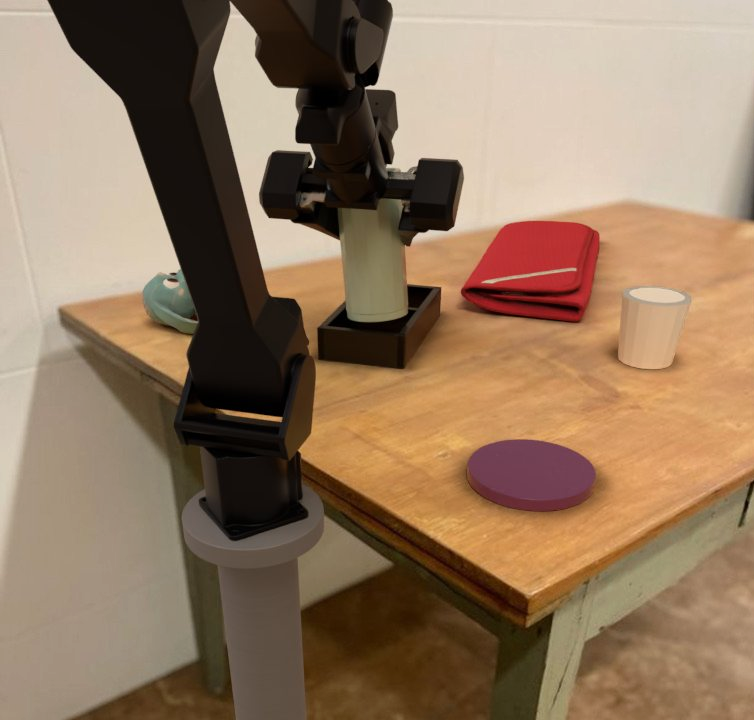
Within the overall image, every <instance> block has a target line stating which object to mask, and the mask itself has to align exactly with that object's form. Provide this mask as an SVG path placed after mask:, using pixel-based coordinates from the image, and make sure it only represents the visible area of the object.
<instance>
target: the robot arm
mask: <svg viewBox="0 0 754 720" xmlns="http://www.w3.org/2000/svg"><path fill="white" fill-rule="evenodd" d="M46 1H47V3H48V5H49V7H50V9H51V11H52V14H53V15H54V18H55V19H56V21H57V23H58V25H59V27H60V29H61V32H62V33H63V35H64V38H65V39H66V42H67V43H68V45H69V47H70V49H71V50H72V51H73V52H74V53H75V54H76V56H78V57H79V59H81V60H82V61H83V62H84V63H85V64H86V65H87V66H88V68H89V69H91V70H92V72H94V73H95V74H96V75H97V76H98V77H99V79H101V81H103V82H104V84H106V85H107V86H108V87H109V88H110V89H111V90H112V91H113V92H114V93H115V94H116V95H117V96H118V97H119V99H120V100H121V101H122V104H123V106H124V109H125V111H126V114H127V117H128V119H129V123H130V126H131V128H132V131H133V135H134V137H135V140H136V143H137V146H138V149H139V151H140V155H141V157H142V160H143V164H144V167H145V169H146V172H147V175H148V178H149V181H150V184H151V187H152V189H153V193H154V195H155V198H156V201H157V204H158V207H159V210H160V213H161V215H162V218H163V221H164V224H165V227H166V230H167V233H168V236H169V239H170V241H171V244H172V248H173V250H174V254H175V257H176V259H177V262H178V265H179V267H180V268H179V269H181V271H182V274H183V277H184V279H185V282H186V285H187V288H188V291H189V294H190V297H191V300H192V303H193V306H194V308H195V311H196V315H197V317H196V319H197V321H198V324H197V326H196V329H195V331H194V334H192V337H191V339H190V343H189V344H188V348H187V350H186V354H185V355H186V359H187V364H188V369H187V373H186V377H185V379H184V380H185V381H184V384H183V387H182V391H181V395H180V398H179V402H178V406H177V410H176V414H175V417H174V421H173V429H174V432H175V434H176V436H177V439H178V442H179V444H180V446H185V447H189V446H193V447H198V448H199V452H200V459H201V460H200V461H201V468H202V477H203V484H204V489H205V493H206V496H205V497H202V498H200V499H199V506H200V507H201V508H202V509H203V510H204V512H205V513H206V514H207V515H208V516H209V517H210V518H211V519H212V521H213V522H214V523H215V524H216V525H217V526H218V527H219V529H220V530H221V531H222V532H223V533H224V534H225V535H226V536H227V538H228V539H229V540H231V541H239V540H242V539H245V538H248V537H251V536H254V535H257V534H260V533H263V532H266V531H269V530H273V529H276V528H279V527H282V526H285V525H288V524H291V523H294V522H297V521H300V520H304V519H306V518H308V516H309V515H308V510H307V509H306V508H305V507H304V506H303V505H302V504H301V503H300V502H299V500H301V499H302V498H303V484H304V483H303V465H302V452H300V451H299V449H300V448H301V447H302V446H303V445H304V443H305V442H307V440H308V438H309V437H311V435H312V430H313V429H312V428H313V418H314V417H313V416H314V406H315V404H314V403H315V392H316V382H317V366H316V362H315V359H314V357H313V356H312V355H311V354H310V349H309V346H310V339H309V337H308V336H307V333H306V330H305V324H304V318H303V311H302V307H301V306H300V304H299V303H298V301H297V300H296V299H295V298H291V297H280V296H272V295H271V294H270V292H269V288H268V285H267V281H266V277H265V274H264V270H263V266H262V262H261V258H260V254H259V250H258V246H257V242H256V237H255V234H254V230H253V226H252V221H251V217H250V213H249V209H248V205H247V201H246V197H245V193H244V189H243V185H242V182H241V176H240V173H239V170H238V165H237V162H236V158H235V152H234V148H233V146H232V145H233V144H232V141H231V138H230V137H231V136H230V133H229V129H228V125H227V121H226V117H225V113H224V108H223V104H222V101H221V96H220V92H219V88H218V84H217V80H216V76H215V75H216V74H215V65H216V62H217V58H218V55H219V52H220V49H221V45H222V42H223V39H224V35H225V32H226V29H227V25H228V22H229V19H230V16H231V4H232V5H233V7H234V8H235V9H236V10H237V11H238V12H239V13H240V15H241V16H242V17H243V18H244V20H245V21H246V22H247V23H248V24H249V25H250V27H251V28H252V29H253V31H254V33H255V34H256V36H255V40H254V46H255V50H254V57H255V59H256V61H257V63H258V64H259V66H260V67H261V69H262V71H263V72H264V74H265V76H266V78H267V79H268V80H269V82H270V83H271V84H272V86H274V87H275V88H276V89H294V90H295V89H297V91H296V95H295V103H294V105H295V109H296V112H297V114H298V116H297V121H296V124H295V129H294V140H295V143H296V144H299V145H300V144H301V145H310V147H311V150H312V153H313V155H314V158H313V156H312V153H311V151H301V150H300V151H299V150H281V149H277V150H273V151H272V152H271V153H270V155H269V156H268V158H267V161H266V165H265V168H264V172H263V173H264V174H263V176H262V180H261V184H260V188H259V193H258V200H259V205H260V206H261V209H262V210H263V213H264V214H265V215H266V216H267V218H268V219H274V220H288V221H290V222H291V223H293V224H298V225H301V226H304V227H307V228H310V229H311V230H315V231H317V232H319V233H322V234H324V235H327V236H329V237H331V238H333V239H335V240H337V241H340V233H339V222H338V211H337V208H349V209H364V210H377V206H378V204H379V200H380V199H381V198H382V199H397V200H401V203H402V206H403V209H402V213H401V218H400V222H399V227H398V230H399V233H400V235H401V238H402V241H403V243H404V244H405V247H409V248H410V247H411V246H412V243H413V240H414V238H415V237H416V236H417V235H418V234H425V233H426V234H427V232H429V231H435V232H436V231H439V232H449V231H450V230H452V229H453V228H454V227H455V225H456V221H457V216H458V210H459V206H460V200H461V197H462V191H463V186H464V182H465V175H464V173H465V172H464V166H463V165H462V164H461V163H460V161H459V159H451V158H431V157H421V158H419V159H418V162H417V166H416V165H414V166H411V167H410V168H409V169H408V170H407V171H401V172H392V171H387V169H386V168H388V167H387V166H388V165H389V166H390V165H393V162H394V158H395V149H394V145H393V142H392V141H393V138H394V136H395V134H396V131H398V129H399V120H398V118H399V117H398V109H397V107H398V106H397V97H396V93H395V91H393V90H390V89H376V88H375V89H374V88H373V89H372V88H369V89H368V88H367V87H370V86H371V87H375V86H376V85H377V84H378V81H379V77H380V73H381V69H382V65H383V61H384V55H385V52H386V47H387V44H388V39H389V35H390V30H391V26H392V22H393V17H394V8H393V5H392V3H391V1H389V0H46ZM313 161H314V162H313ZM311 166H312V167H311ZM216 410H220V411H221V410H222V411H229V412H238V413H245V414H253V415H259V416H268V417H276V418H281V421H277V420H269V419H263V418H255V417H249V416H248V417H246V416H240V415H232V414H225V413H217V412H216Z"/></svg>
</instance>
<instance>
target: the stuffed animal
mask: <svg viewBox="0 0 754 720" xmlns="http://www.w3.org/2000/svg"><path fill="white" fill-rule="evenodd" d="M141 294H142V296H141V299H142V305H143V308H144V311H145V313H146V314H147V316H148V317H150V319H151V320H152V321H153V322H154V323H158V324H160V325H164V326H170V327H173V328H175V329H176V330H178V331H180V332H181V333H182V334H188V335H193V334H194V331H195V329H196V326H197V324H198V320H194V319H192V318H193V317H195V318H197V315H196V311H195V308H194V306H193V303H192V300H191V297H190V294H189V291H188V288H187V285H186V282H185V279H184V277H183V274H182V271H181V268H179V269H178V270H177V271H176V272H169V273H167V274H166V273H164V272H162V271H161V272H157V274H156V275H155V276H153V277H152V278H151V279H150V280H149V281H148V282H147V283H145V285H144V287H143V289H142V293H141Z"/></svg>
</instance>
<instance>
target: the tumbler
mask: <svg viewBox="0 0 754 720" xmlns="http://www.w3.org/2000/svg"><path fill="white" fill-rule="evenodd" d="M386 169H387V171H392V172H402V170H401V168H400V167H386ZM402 209H403V206H402V203H401V200H397V199H382V198H381V199H380V200H379V204H378V206H377V210H364V209H349V208H337V211H338V222H339V233H340V240H339V243H340V254H341V265H342V276H343V289H344V298H345V300H346V310H347V317H348V318H349V319H350V320H353V321H358V322H382V321H389V320H394V319H398V318H401V317H403V316H405V315H407V314H408V293H407V284H408V278H407V277H408V276H407V262H406V259H407V257H406V245H405V244H404V243H403V241H402V238H401V235H400V233H399V230H398V227H399V222H400V218H401V213H402ZM345 300H344V301H345Z"/></svg>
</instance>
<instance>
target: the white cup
mask: <svg viewBox="0 0 754 720" xmlns="http://www.w3.org/2000/svg"><path fill="white" fill-rule="evenodd" d="M692 301H693V299H692V297H691V295H690V294H688V293H687V292H684V291H681V290H678V289H676V288H671V287H663V286H656V285H655V286H654V285H640V286H632V287H627V288H626V289H624V290H622V297H621V309H620V310H621V311H620V321H619V336H618V339H619V340H618V349H617V359H618V361H620V362H621V363H622V364H624V365H627V366H629V367H632V368H636V369H641V370H642V369H643V370H663V369H665V368H669V367H670V366H671V365H672V364H673V362H674V358H675V356H676V352H677V349H678V345H679V342H680V339H681V336H682V333H683V330H684V326H685V324H686V320H687V317H688V314H689V311H690V308H691V305H692Z"/></svg>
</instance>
